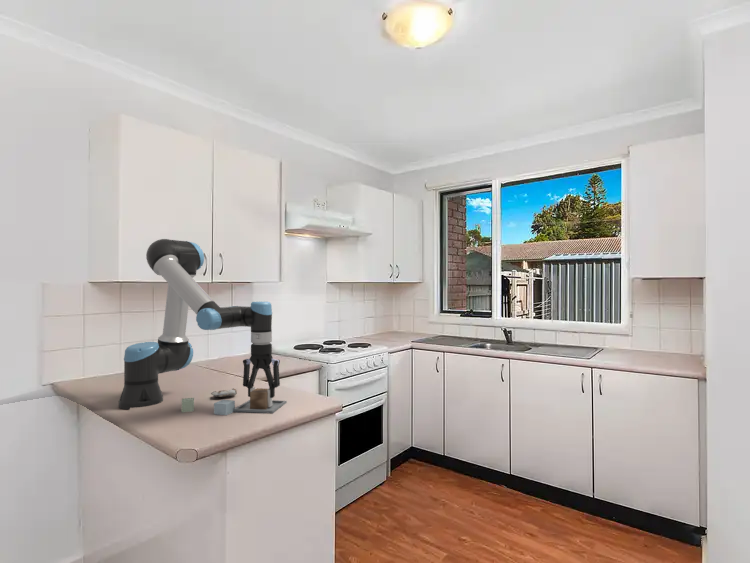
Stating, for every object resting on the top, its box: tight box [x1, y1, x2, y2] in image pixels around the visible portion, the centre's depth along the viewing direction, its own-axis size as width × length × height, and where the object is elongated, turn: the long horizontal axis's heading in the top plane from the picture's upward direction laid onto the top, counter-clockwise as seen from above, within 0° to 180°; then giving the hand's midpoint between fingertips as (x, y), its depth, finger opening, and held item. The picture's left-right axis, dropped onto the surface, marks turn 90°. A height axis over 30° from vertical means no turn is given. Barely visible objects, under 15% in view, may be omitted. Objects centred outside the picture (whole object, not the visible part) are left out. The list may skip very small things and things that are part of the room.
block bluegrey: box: [213, 399, 236, 416], centre depth 156 cm, size 5×5×4 cm
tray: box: [233, 399, 287, 415], centre depth 162 cm, size 15×14×1 cm
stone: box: [210, 388, 238, 398], centre depth 177 cm, size 10×7×3 cm
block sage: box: [181, 397, 195, 413], centre depth 159 cm, size 4×4×4 cm
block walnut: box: [249, 387, 269, 409], centre depth 162 cm, size 6×6×6 cm
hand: (261, 405), depth 162 cm, fingers closed on block walnut, 6 cm apart
